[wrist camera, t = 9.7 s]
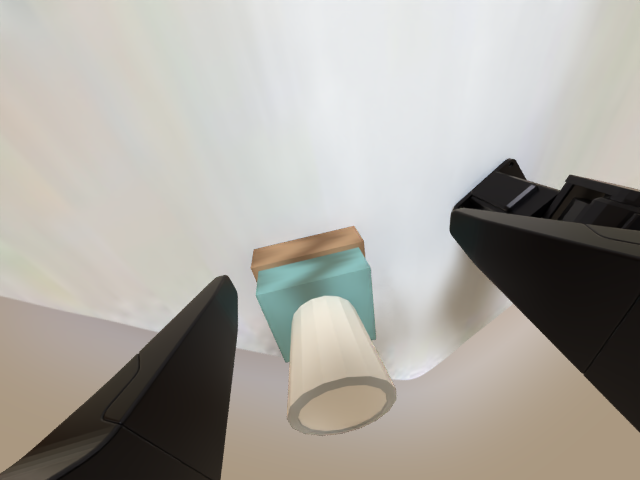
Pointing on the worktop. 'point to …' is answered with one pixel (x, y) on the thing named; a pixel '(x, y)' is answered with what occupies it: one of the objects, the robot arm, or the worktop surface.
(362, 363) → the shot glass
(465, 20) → the worktop surface
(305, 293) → the teal and brown block
